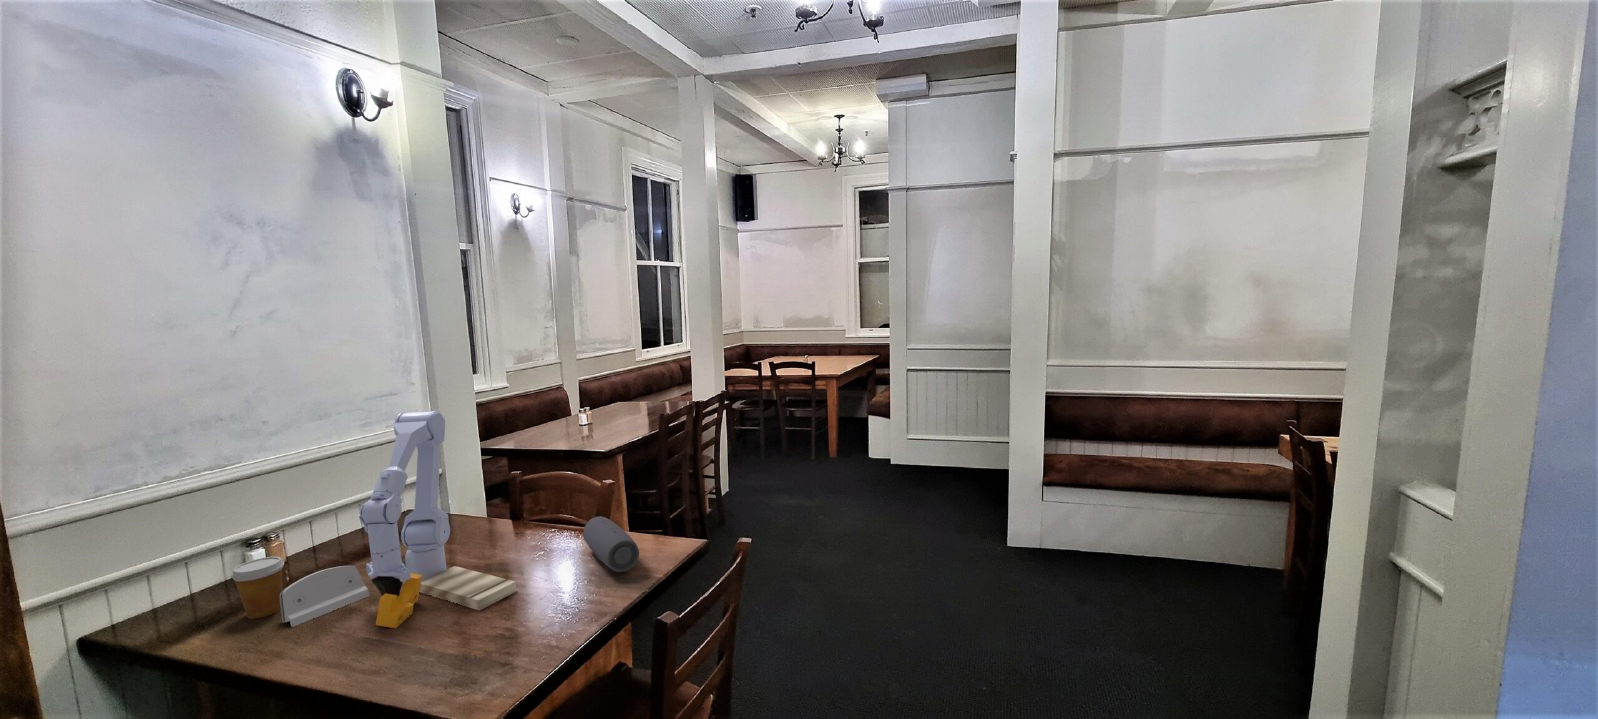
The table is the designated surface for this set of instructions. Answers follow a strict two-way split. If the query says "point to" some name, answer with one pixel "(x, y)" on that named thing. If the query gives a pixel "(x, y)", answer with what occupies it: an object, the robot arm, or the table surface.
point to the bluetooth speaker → (611, 544)
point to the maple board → (467, 587)
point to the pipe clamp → (399, 603)
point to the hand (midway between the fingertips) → (392, 604)
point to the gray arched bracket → (321, 594)
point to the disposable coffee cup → (260, 586)
